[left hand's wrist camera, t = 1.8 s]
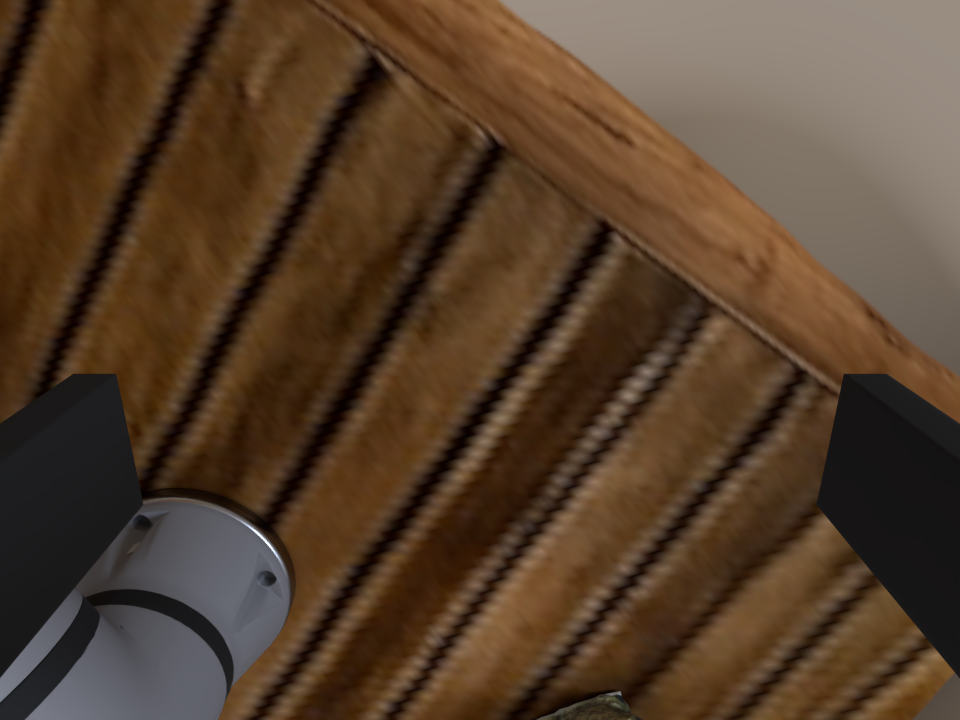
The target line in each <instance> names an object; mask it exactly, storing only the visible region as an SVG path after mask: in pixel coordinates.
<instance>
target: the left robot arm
mask: <svg viewBox="0 0 960 720" xmlns="http://www.w3.org/2000/svg"><path fill="white" fill-rule="evenodd" d="M817 506H818V507H819V508H820V509H821V511H822V512H823V513H824V514H825V515H826V517H827V518H828V519H829V520H830V522H831V523H832V524H833V525H834V526H835V528H836V529H837V530H838V531H839V532H840V534H841V535H842V536H843V537H844V538H845V540H846V541H847V542H848V543H849V545H850V546H851V547H852V548H853V549H854V551H855V552H856V553H857V554H858V555H859V557H860V558H861V559H862V560H863V562H864V563H865V564H866V565H867V566H868V568H869V569H870V570H871V571H872V572H873V574H874V575H875V576H876V577H877V578H878V580H879V581H880V582H881V583H882V585H883V586H884V587H885V588H886V589H887V591H888V592H889V593H890V594H891V595H892V597H893V598H894V599H895V600H896V601H897V603H898V604H899V605H900V606H901V608H902V609H903V610H904V611H905V612H906V614H907V615H908V616H909V617H910V618H911V620H912V621H913V622H914V623H915V625H916V626H917V627H918V628H919V629H920V631H921V632H922V633H923V634H924V635H925V637H926V638H927V639H928V640H929V641H930V643H931V644H932V645H933V646H934V648H935V649H936V650H937V651H938V652H939V654H940V655H941V656H942V657H943V658H944V660H945V661H946V662H947V663H948V664H949V666H950V667H951V668H952V669H953V671H954V672H955V673H956V674H957V675H958V677H959V678H960V424H959V423H958V422H956V421H955V420H953V419H952V418H951V417H949V416H948V415H946V414H945V413H943V412H942V411H940V410H939V409H937V408H936V407H934V406H933V405H931V404H930V403H928V402H927V401H926V400H924V399H923V398H921V397H920V396H918V395H917V394H915V393H914V392H912V391H911V390H909V389H908V388H906V387H905V386H904V385H902V384H901V383H899V382H898V381H896V380H895V379H893V378H892V377H890V376H889V375H887V374H844V377H843V381H842V386H841V391H840V396H839V400H838V405H837V410H836V415H835V420H834V424H833V429H832V434H831V439H830V443H829V448H828V453H827V458H826V463H825V467H824V472H823V477H822V482H821V486H820V491H819V496H818V501H817ZM294 595H295V573H294V568H293V564H292V561H291V558H290V555H289V553H288V551H287V549H286V547H285V545H284V544H283V542H282V541H281V539H280V538H279V537H278V535H277V534H276V533H275V532H274V530H273V529H272V528H271V527H270V526H269V525H268V524H267V523H266V522H265V521H263V520H262V519H261V518H260V517H259V516H257V515H256V514H255V513H253V512H252V511H250V510H249V509H247V508H246V507H244V506H242V505H240V504H238V503H236V502H234V501H232V500H230V499H227V498H225V497H222V496H219V495H216V494H213V493H208V492H204V491H198V490H191V489H167V490H159V491H154V492H150V493H146V494H143V495H141V491H140V486H139V482H138V477H137V472H136V467H135V463H134V458H133V453H132V448H131V443H130V439H129V434H128V429H127V424H126V420H125V415H124V410H123V405H122V400H121V396H120V391H119V386H118V381H117V377H116V374H73V375H71V376H70V377H68V378H67V379H65V380H64V381H62V382H61V383H59V384H58V385H56V386H55V387H54V388H52V389H51V390H49V391H48V392H46V393H45V394H43V395H42V396H40V397H39V398H37V399H36V400H34V401H33V402H32V403H30V404H29V405H27V406H26V407H24V408H23V409H21V410H20V411H18V412H17V413H15V414H14V415H12V416H11V417H9V418H8V419H7V420H5V421H4V422H2V423H1V424H0V720H218V718H219V716H220V713H221V711H222V708H223V706H224V703H225V701H226V698H227V696H228V694H229V691H230V689H231V687H232V686H233V685H234V684H235V683H236V681H237V680H238V679H239V678H240V677H241V676H242V675H243V674H244V673H245V672H246V671H247V670H248V669H249V667H250V666H251V665H252V664H253V663H254V662H255V661H256V660H257V659H258V658H259V657H260V656H261V655H262V654H263V652H264V651H265V650H266V649H267V648H268V647H269V646H270V645H271V644H272V642H273V641H274V640H275V638H276V637H277V636H278V634H279V633H280V631H281V630H282V628H283V626H284V624H285V622H286V619H287V616H288V614H289V611H290V608H291V606H292V603H293V599H294Z"/></svg>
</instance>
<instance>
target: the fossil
mask: <svg viewBox="0 0 960 720" xmlns="http://www.w3.org/2000/svg"><path fill="white" fill-rule="evenodd" d="M537 720H642V719H640V718H639V717H637V716H635V715H633V714H631V712H630V708H629V706H628V705H627V704H626V702H625V701H624V700H623V698H622V695H621V692H614V693H607V694H602V695H599V696H597V697H595V698H592V699H589V700H585V701H582V702H579V703H575V704H573V705H571V706H569V707H565V708H562V709H559V710H558V711H557V712H555V713H554V714H550V715H547V716H544V717H540V718H538V719H537Z"/></svg>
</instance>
